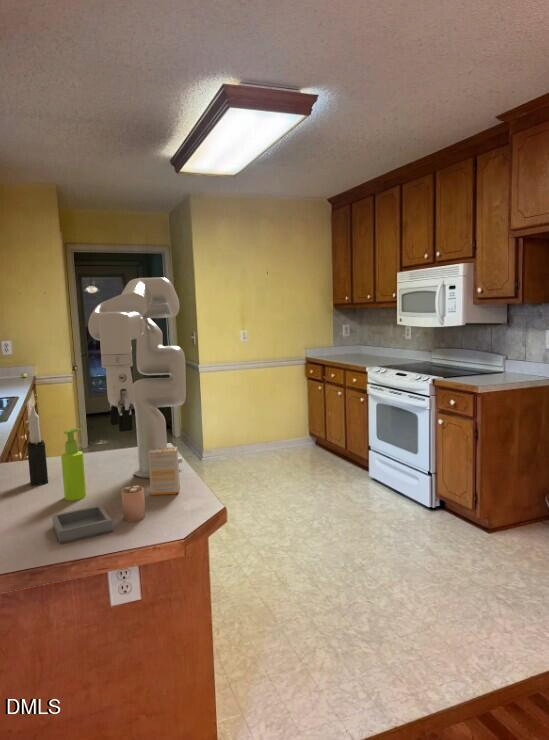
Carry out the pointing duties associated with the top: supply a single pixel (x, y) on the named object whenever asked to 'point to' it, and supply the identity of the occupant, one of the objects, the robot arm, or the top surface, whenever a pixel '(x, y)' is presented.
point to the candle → (36, 452)
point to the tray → (81, 524)
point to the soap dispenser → (73, 469)
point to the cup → (133, 503)
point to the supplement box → (164, 470)
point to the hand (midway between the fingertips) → (121, 427)
